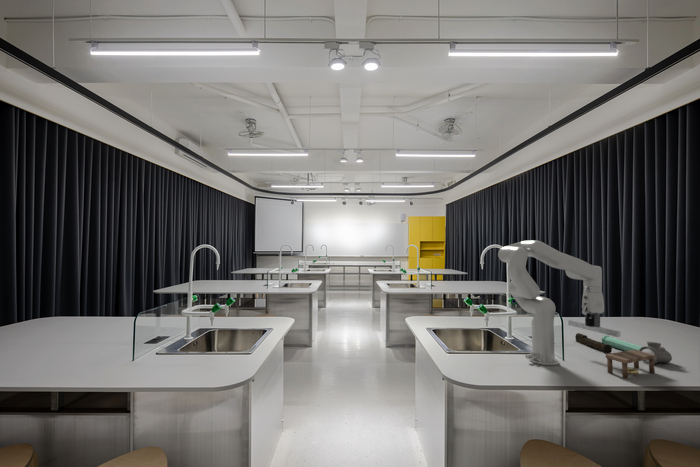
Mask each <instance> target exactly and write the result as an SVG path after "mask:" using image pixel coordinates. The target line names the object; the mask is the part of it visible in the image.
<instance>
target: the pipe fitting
mask: <svg viewBox="0 0 700 467" xmlns="http://www.w3.org/2000/svg"><path fill="white" fill-rule="evenodd" d="M646 345H647V346H645V345H644V346H642V347H641V348H640V350H639V351H642V352H646V353H650V354H654V355H655V359H654V365H655V364H658V363H670V362H671V361H672V359H673V356H672V354H671V352H669V351H667V349H666V348H665V347H664V346H662V343H661V342H656V341H646ZM642 362H644V363H645V364H648V365H649V360H644V361H642Z"/></svg>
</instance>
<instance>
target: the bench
mask: <svg viewBox="0 0 700 467" xmlns="http://www.w3.org/2000/svg"><path fill="white" fill-rule="evenodd" d="M605 359H606V365H607V366H606V367H607V373H608V374H610V375H611V374H613V373H614V372H613V370H614V369H613V368H614V367H613V361H616V362H619V363H621V371H622V372H621V375H622V378H623V379H626V380H627V379H628V378H629V374H628V367H629V366H628V365H629V364H631V363H633V368H635V369H637V368H639V369H640V362H643V361H644V360H649V364H648V370H649V371H648V372H649V373H650V374H655V364H654V359H655V355H654V354H650V353H646V352H642V351H638V350H629V351H623V350H622V351H618V352H611V353H605Z"/></svg>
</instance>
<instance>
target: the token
mask: <svg viewBox="0 0 700 467" xmlns="http://www.w3.org/2000/svg"><path fill="white" fill-rule="evenodd" d="M628 373H629V374H628V375H631V374H633V375H632V376H638V375H639V369H637V368H634V367H629V366H628Z"/></svg>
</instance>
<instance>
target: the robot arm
mask: <svg viewBox="0 0 700 467" xmlns="http://www.w3.org/2000/svg"><path fill="white" fill-rule="evenodd" d="M497 252H498V253H497V257H498V259H499V260H500V261H501V262H502V263H508V267H507V274H508V278H509V280H510V282H509V284H508V290H509V293H510V294H511V296H512V298H513V299H514V300H515V301H516V303H517V304H518V305H519V306H520V308H521V309H523V311H524V312H526V313H529V314H533V318H532V321H531V349H532V350H531V351H530V353H528V354H525V355H524V357H525V359H527V360H528V359H529V361H531V362H532V363H535V364H539V365H543V366H557V365H559V359H557V358H555V356H556V355H555V351H556V350H555V327H554V326H555V325H554V324H555V322H554V321H555V315H556V310H557V309H556V308H557V307H556V305H555V302H554V301H552V299H551V298H547V297H546V296H541V290H540V288H539V285H538V284H537V283H536V281H535V280H534V279H533V278H532V276H531V275H530V274H529V272H528V270H527V267H526V266H527V261H528V258H530V257H531V258H535V259H536V260H538V261H540V262H542V263H543V264H545V265H547V266H549V267H551V268H554V269H557V270H562V271H563V270H564V271H565V274H566V276H567V277H568V278H569V279H573V280H577V281H578V280H579V281H580V280H581V281H583V292H582V293H583V294H582V298H581V299H582V300H581V301H582V302H581V309H582V311H581V314H583V315H584V319H585V318H586V326H589V327H593V319H592V315H593V313H595V314H600V316H601V315H602V314H603V313H605V301H604V300H605V299H604V295H603V290H602V289H603V285H602V284H603V276H602V275H603V272H602V270H603V269H602V267H601V266H599V265H593V264H590V263H589V262H587V261H585V260H582V259H580V258H578V257H575V256H572V255H569V254H567V253H564V252H561V251H559V250H557V249H555V248H554V247H551V246H550V245H549V244H546V243H544V242H543V241H540V240H536V239H535V240H534V239H532V240H531V239H530V240H521V241H519V242H515V243H512V244H509V245H505V246H503V247H500V249H499V250H498V251H497ZM588 313H590V315H589V314H588Z"/></svg>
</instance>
